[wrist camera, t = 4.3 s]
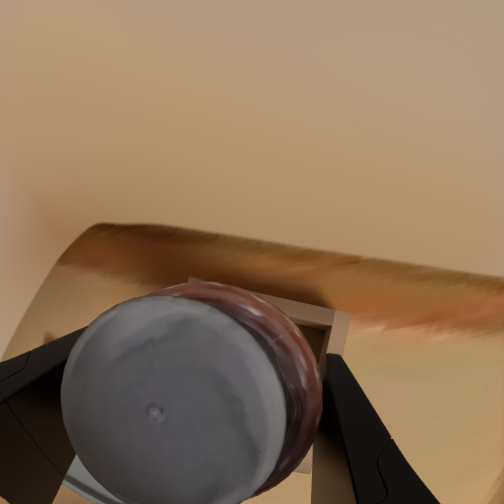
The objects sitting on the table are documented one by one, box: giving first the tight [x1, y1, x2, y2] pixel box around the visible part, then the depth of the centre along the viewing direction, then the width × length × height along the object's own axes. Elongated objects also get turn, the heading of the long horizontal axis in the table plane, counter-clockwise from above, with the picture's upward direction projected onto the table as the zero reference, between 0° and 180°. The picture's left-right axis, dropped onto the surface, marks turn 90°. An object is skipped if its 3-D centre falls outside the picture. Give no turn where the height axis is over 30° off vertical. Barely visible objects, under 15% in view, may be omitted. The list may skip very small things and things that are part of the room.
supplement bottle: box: [61, 282, 323, 504], centre depth 10 cm, size 6×6×11 cm
